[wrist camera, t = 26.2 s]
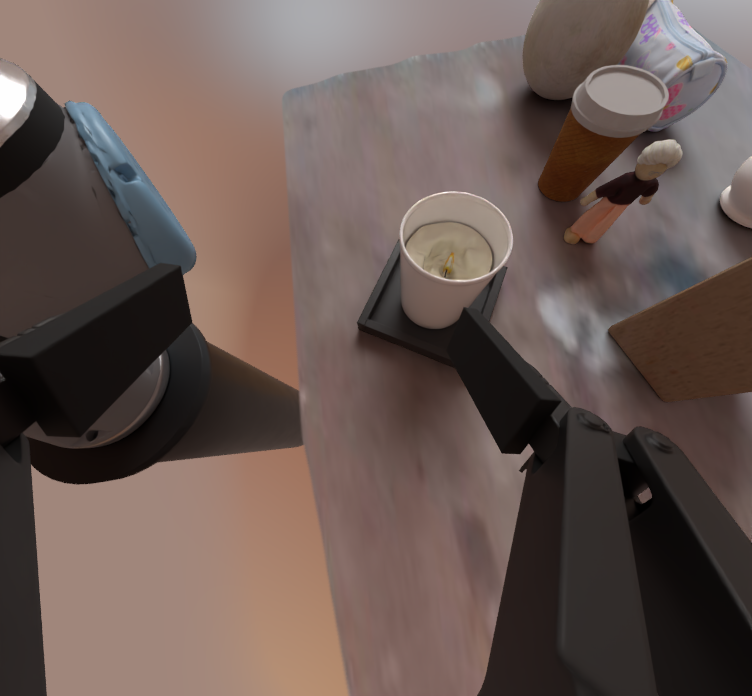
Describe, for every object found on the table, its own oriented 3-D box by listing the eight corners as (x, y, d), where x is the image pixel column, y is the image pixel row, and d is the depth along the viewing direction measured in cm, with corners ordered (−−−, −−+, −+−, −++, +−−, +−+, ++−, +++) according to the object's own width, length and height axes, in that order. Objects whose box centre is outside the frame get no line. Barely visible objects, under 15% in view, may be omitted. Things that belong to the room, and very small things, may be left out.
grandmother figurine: (562, 251, 37) (646, 162, 25) (551, 229, 38) (627, 134, 26) (616, 242, 37) (725, 150, 25) (604, 221, 38) (703, 122, 26)
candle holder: (485, 317, 34) (536, 256, 22) (415, 347, 33) (431, 300, 21) (448, 257, 37) (476, 177, 25) (382, 284, 36) (381, 212, 24)
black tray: (358, 329, 35) (356, 322, 33) (401, 243, 39) (402, 232, 37) (467, 373, 32) (473, 368, 30) (501, 276, 36) (507, 267, 34)
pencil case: (588, 60, 50) (633, -23, 41) (636, 57, 50) (691, -27, 41) (625, 139, 43) (688, 61, 34) (680, 136, 43) (758, 56, 34)
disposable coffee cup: (526, 206, 40) (582, 114, 28) (527, 160, 43) (578, 59, 31) (594, 214, 39) (680, 122, 28) (590, 166, 42) (667, 65, 30)
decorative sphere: (499, 69, 50) (544, -77, 36) (581, 63, 50) (659, -86, 36) (516, 124, 45) (576, -19, 31) (606, 118, 45) (709, -29, 31)
